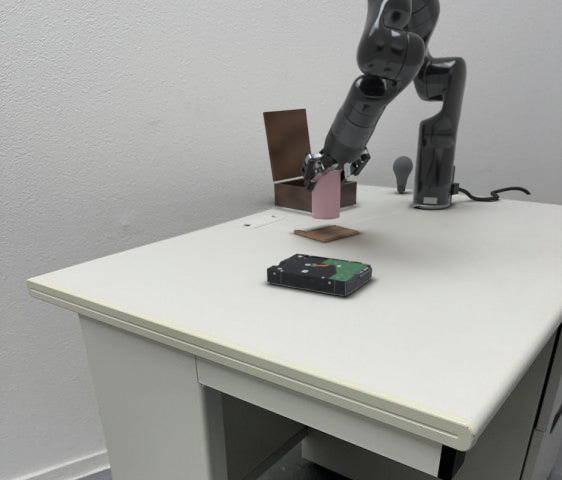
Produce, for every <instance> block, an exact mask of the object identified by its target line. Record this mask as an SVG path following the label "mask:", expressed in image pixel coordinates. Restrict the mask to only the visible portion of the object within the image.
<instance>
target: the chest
mask: <svg viewBox="0 0 562 480" xmlns="http://www.w3.org/2000/svg"><path fill="white" fill-rule="evenodd" d="M304 182H305V181H304V179H303V177H299V178H294V179H289V180H283V181H278V182H273V190H274V191H273V193H274V206H276V207H281V208H286V209H291V210H296V211H302V212H307V213H312V192H307V190H306V188H305V186H304ZM357 189H358V181H354V180H349V179H347V181H346V182H345V184H344V185H343V186H342V187H341V189H340V209H341V208H346V207H349V206H353V205H356V204H357V193H358V192H357V191H358V190H357Z"/></svg>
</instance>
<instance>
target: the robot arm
mask: <svg viewBox="0 0 562 480" xmlns="http://www.w3.org/2000/svg"><path fill="white" fill-rule="evenodd" d="M366 3H367V7H366V8H367V12H366V17H365V23H364V27H363V30H362V33H361V36H360V39H359V42H358V45H357V48H356V53H355V61H356V62H355V63H356V65H357V67H358V69H359V71H360V72H361V73H362V74H360V75H359V76H357V77H356V78H355V79H354V80H353V81H352V83H351V85H350V87H349V89H348V92H347V94H346V96H345V98H344V100H343V102H342V104H341V106H340V107H339V109H338V111H337V112H336V114H335V117H334V119H333V120H332V122H331V126H330V128H329V129H328V132H327V134H326V136H325V139H324V144H323V148H321V149H320V150H319V151H318V153H313V154H312V151H311V152H310V151H308V152H306V153H305V156H304V159H303V163H302V166H301V173H302V175H303V176H302V178H303V179H304V181H305V182H304V186H305V188H306V190H307V192H312V190H313V188H314V186H315V184H316V181H317V180H318V179H319V178H320V177H321V176H322V177H324V176H325V175H326V174H328V173H329V172H330V171H333V170H342V172H341V182H340V189H341V187H342V186H343V185H344V184H345V182H346V181H347V180H349V179H351V176H354V177H357V176H359V175H360V174H361V173H362V171H363V170H364V168H365V167H366V166H367V164H368V163H369V161H370V160H371V158H372V156H371V155H370V152H369V149H368V147H367V145H368V143H369V142H370V140H371V138H372V136H373V134H374V132H375V130H376V128H377V124H378V123H379V121H380V120H381V117H382V116H383V114H384V112H385V110H386V108H387V106H389V105H390V104H391V103H392V102H393V101H394V100H395V99H396V98H397V97H398V96H399V95H400V94H401V93H402V92H403V91H404V90H406V89H407V87H408V86H409V85H410V84H411V83H412V82H413V86H414V90H415V93H416V95H417V97H418V98H419V100H421V101H423V102H427V103H442V105H441V108H440V110H439V111H437V113H434V114H433V115H431V116H429V117H427V118H424V119H422V120H420V121H419V123H418V131H417V132H418V134H417V145H416V155H415V168H414V180H413V190H412V191H413V194H412V201H411V203H412V205H414V207H415V208H417V209H425V210H438V209H445V208H448V207H450V205H452V202H453V201H452V200H453V196H455V195H459V192H460V193H462V194H464V195H466V197H467V198H468V199H470V200H472V201H476V202H491V201H496V200H499V198H500V195H499V194H500V193H505V192H508V191H509V192H510V191H511V192H512V191H519V192H523V193H524V194H525V195H528V196H530V195H531V194H532V193H531V192H530V191H529V190H528V189H527V188H525V187H522V186H507V187H502V188H499V189H494V190H491V191H490V193H489V194H490V196H488V197H487V196H486V197H485V196H484V197H483V196H482V197H481V196H475V195H473V194H471V192H470V191H469V190H467V189H465V188H463V187H460V182H455V175H456V165H455V158H456V148H457V140H458V132H459V125H460V121H461V116H462V108H463V101H464V96H465V89H466V84H467V75H468V69H467V62H466V60H465V58H464V57H462V56H439V57H438V56H437V57H434V56H432V54H431V52H430V48H429V43H430V41H431V38H432V36H433V34H434V32H435V29H436V27H437V24H438V22H439V18H440V15H441V3H440V0H367V1H366ZM323 168H324V170H323ZM316 170H317V173H316V174H315V173H314V172H315V171H316Z"/></svg>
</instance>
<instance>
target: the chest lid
mask: <svg viewBox="0 0 562 480" xmlns="http://www.w3.org/2000/svg"><path fill="white" fill-rule="evenodd" d="M262 116H263V117H262V118H263V123H264V129H265V136H266V144H267V150H268V156H269V157H268V158H269V164H270V170H271V179H272V182H273V183H276V182H281V181H286V180H292V179H297V178H302V177H303V175H302V173H301V166H302V163H303V159H304V156H305V153H306V152H308V151H310V152H311V153H312V150H311V141H310V133H309V125H308V116H307V108H297V109H296V108H295V109H284V110H272V111H263V112H262Z"/></svg>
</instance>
